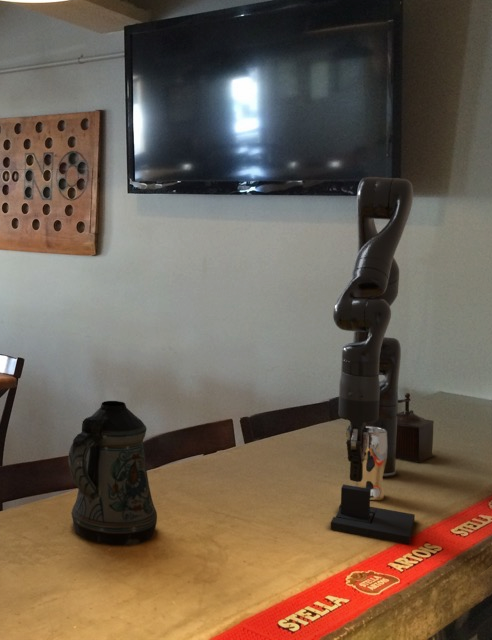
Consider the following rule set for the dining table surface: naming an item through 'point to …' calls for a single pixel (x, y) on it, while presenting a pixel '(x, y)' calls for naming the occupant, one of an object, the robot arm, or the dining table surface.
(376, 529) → the large pad
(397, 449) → the brown coffee grinder
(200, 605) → the dining table surface
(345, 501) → the black upright tab block
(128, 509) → the beer stein
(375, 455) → the beer glass
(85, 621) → the dining table surface
